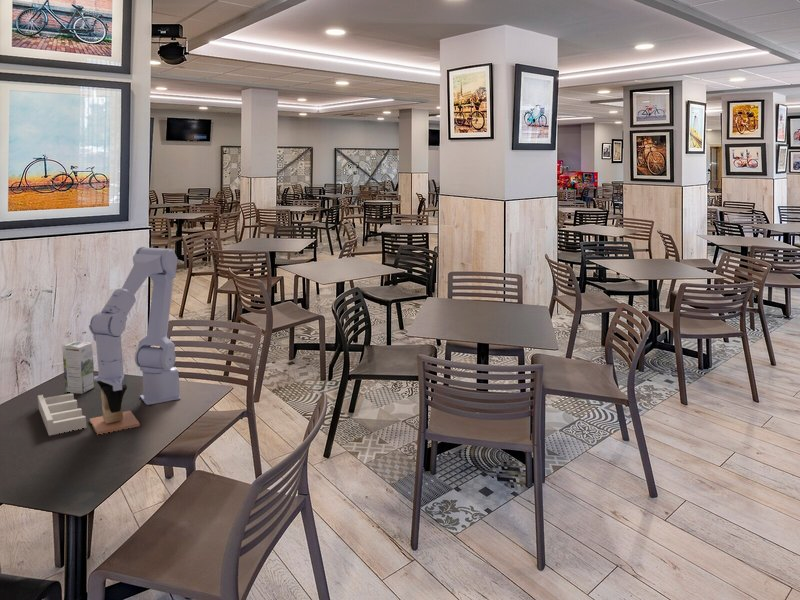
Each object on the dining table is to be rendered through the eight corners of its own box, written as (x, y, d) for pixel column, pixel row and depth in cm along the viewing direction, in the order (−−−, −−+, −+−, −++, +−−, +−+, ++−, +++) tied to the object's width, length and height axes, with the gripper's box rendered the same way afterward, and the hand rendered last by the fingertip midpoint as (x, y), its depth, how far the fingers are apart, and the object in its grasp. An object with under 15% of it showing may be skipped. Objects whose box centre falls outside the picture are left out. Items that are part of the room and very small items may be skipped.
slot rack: (73, 403, 165) (72, 389, 164) (86, 427, 150) (85, 413, 149) (38, 409, 160) (37, 395, 159) (48, 435, 145) (47, 420, 144)
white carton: (78, 386, 178) (74, 340, 175) (96, 387, 177) (92, 341, 174) (65, 392, 172) (60, 345, 170) (83, 394, 172) (79, 347, 169)
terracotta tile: (130, 413, 159) (130, 410, 159) (139, 426, 152) (139, 423, 152) (89, 421, 154) (89, 418, 153) (97, 435, 146) (97, 432, 146)
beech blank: (119, 414, 155) (117, 386, 153) (123, 420, 152) (120, 391, 150) (103, 418, 152) (100, 389, 151) (106, 423, 149) (103, 394, 148)
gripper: (87, 353, 152) (91, 402, 155) (98, 369, 141) (102, 421, 144) (116, 349, 156) (119, 397, 159) (129, 364, 145) (133, 415, 148)
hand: (113, 408), depth 152 cm, fingers closed on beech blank, 4 cm apart
